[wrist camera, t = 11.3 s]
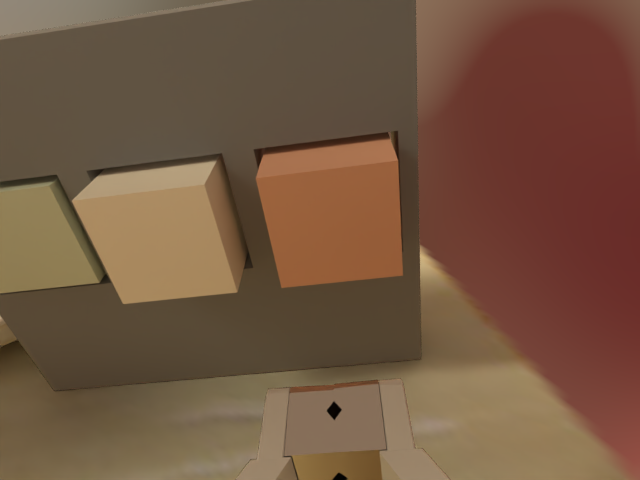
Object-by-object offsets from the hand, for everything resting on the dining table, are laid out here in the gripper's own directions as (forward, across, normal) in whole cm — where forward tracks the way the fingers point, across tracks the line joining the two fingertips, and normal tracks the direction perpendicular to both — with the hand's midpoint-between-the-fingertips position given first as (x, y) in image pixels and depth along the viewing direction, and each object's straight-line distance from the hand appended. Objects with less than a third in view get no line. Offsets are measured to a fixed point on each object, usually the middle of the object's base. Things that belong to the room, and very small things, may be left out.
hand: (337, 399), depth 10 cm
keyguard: (+13, +7, +9) cm, 17 cm away
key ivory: (+9, +7, +2) cm, 12 cm away
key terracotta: (+9, 0, +2) cm, 9 cm away
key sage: (+11, +13, +2) cm, 17 cm away
